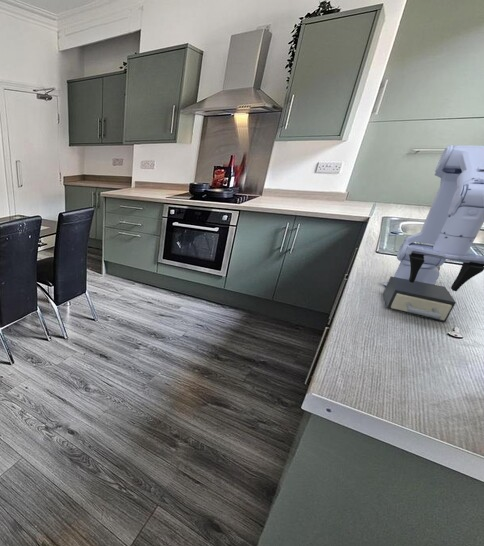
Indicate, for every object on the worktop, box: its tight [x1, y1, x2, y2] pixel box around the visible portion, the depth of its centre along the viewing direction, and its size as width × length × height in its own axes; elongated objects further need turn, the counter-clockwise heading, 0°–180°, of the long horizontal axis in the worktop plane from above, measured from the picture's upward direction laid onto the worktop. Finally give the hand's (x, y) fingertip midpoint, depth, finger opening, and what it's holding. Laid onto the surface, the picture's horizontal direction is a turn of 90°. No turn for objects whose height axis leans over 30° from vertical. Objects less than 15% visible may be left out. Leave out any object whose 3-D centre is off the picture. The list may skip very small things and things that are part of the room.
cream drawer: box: [391, 293, 452, 320], centre depth 87 cm, size 17×10×4 cm, turn 141°
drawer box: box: [382, 276, 457, 323], centre depth 90 cm, size 13×12×6 cm
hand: (431, 285), depth 81 cm, fingers open, 7 cm apart
